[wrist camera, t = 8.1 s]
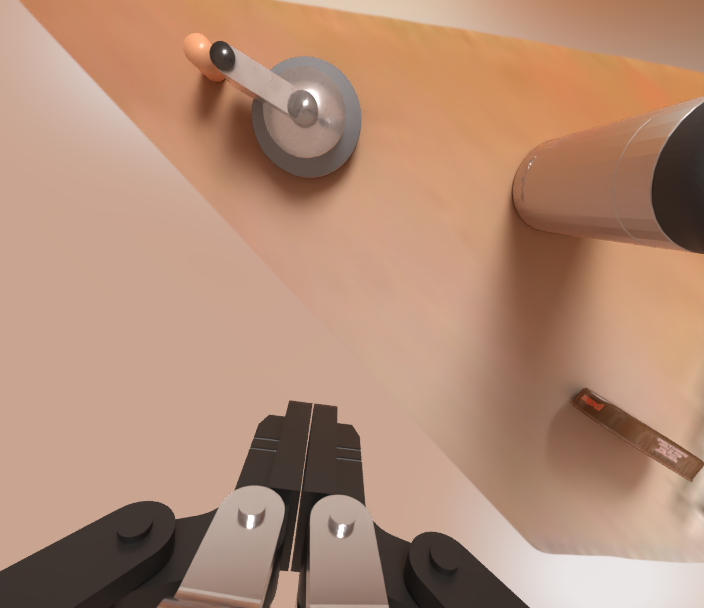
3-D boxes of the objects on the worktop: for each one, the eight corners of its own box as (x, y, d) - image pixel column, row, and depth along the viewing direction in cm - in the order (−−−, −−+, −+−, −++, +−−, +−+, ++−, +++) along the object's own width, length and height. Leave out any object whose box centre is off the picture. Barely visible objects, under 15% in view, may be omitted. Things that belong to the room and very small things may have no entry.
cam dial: (359, 102, 32) (362, 87, 28) (322, 173, 34) (319, 170, 30) (245, 28, 31) (229, 0, 26) (211, 107, 32) (191, 93, 28)
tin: (556, 393, 44) (605, 436, 36) (573, 373, 44) (627, 412, 36) (642, 446, 47) (705, 497, 39) (659, 428, 46) (727, 476, 38)
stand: (367, 75, 34) (371, 56, 30) (352, 185, 37) (353, 183, 32) (204, 45, 33) (183, 21, 29) (200, 161, 36) (181, 155, 31)
